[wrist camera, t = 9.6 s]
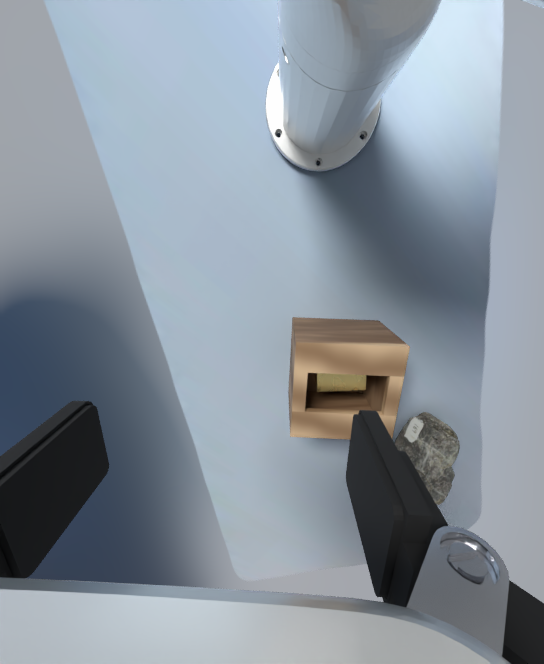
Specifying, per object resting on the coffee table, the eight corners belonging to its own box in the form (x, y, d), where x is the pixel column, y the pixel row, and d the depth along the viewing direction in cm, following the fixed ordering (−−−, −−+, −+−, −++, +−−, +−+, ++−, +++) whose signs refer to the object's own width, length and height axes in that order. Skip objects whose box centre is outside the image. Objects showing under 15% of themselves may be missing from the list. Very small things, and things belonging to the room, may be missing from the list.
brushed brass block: (312, 351, 40) (317, 370, 35) (354, 349, 40) (366, 368, 34) (312, 370, 41) (317, 391, 36) (354, 369, 41) (365, 390, 35)
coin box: (292, 317, 40) (295, 342, 30) (378, 320, 39) (409, 346, 30) (288, 392, 43) (290, 436, 34) (367, 396, 43) (391, 441, 34)
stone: (377, 406, 48) (416, 415, 39) (415, 406, 49) (462, 415, 40) (379, 492, 46) (420, 525, 37) (418, 490, 48) (469, 522, 38)
